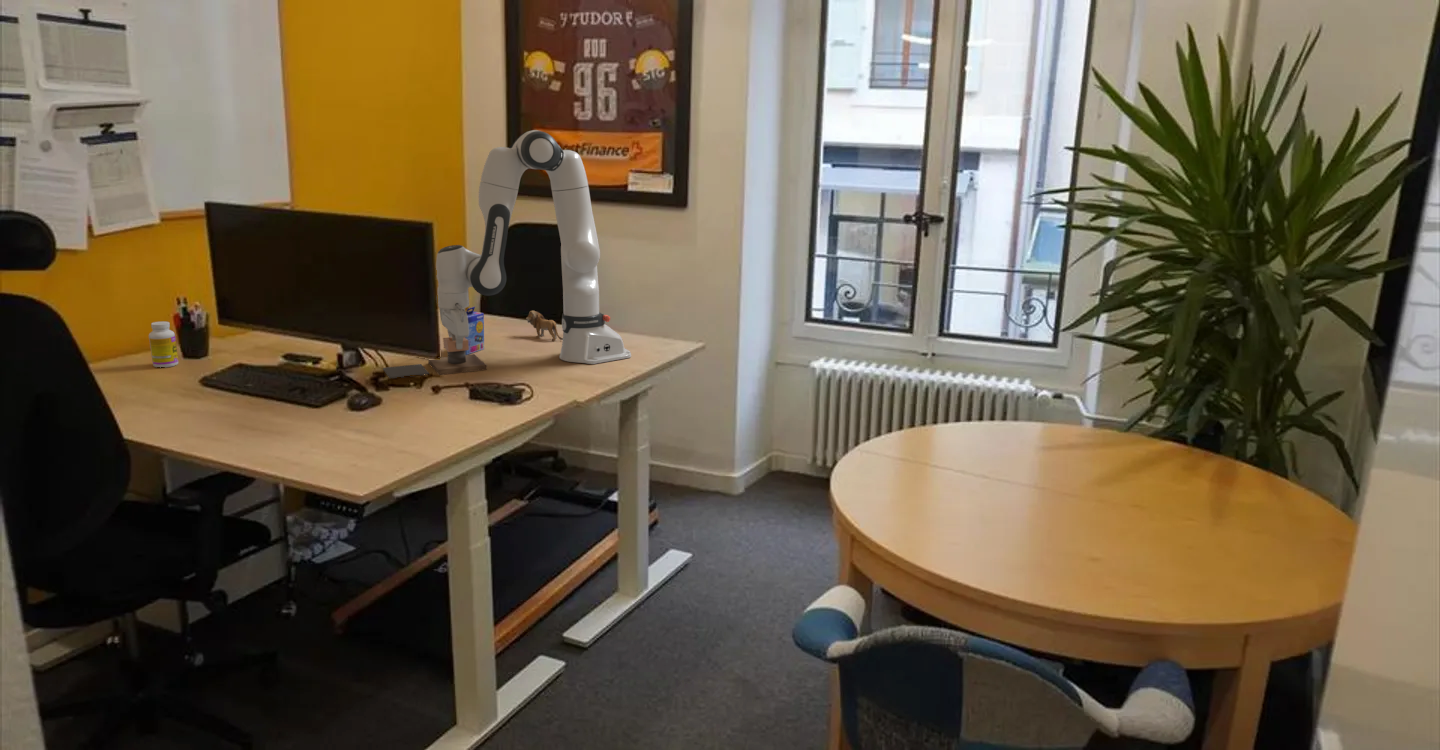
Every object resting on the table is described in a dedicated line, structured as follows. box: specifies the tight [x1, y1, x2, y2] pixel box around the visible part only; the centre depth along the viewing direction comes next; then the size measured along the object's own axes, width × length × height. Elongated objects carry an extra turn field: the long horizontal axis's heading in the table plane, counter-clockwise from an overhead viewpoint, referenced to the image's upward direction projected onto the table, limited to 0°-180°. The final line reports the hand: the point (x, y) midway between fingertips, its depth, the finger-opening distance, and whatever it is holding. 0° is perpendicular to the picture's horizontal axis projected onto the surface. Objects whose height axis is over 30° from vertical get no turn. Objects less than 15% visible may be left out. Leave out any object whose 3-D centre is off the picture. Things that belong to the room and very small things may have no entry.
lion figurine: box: [525, 310, 563, 342], centre depth 325 cm, size 15×5×9 cm, turn 60°
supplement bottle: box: [148, 320, 179, 369], centre depth 281 cm, size 7×7×13 cm
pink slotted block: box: [442, 336, 469, 352], centre depth 286 cm, size 6×6×3 cm
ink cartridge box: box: [465, 306, 485, 355], centre depth 304 cm, size 10×6×14 cm, turn 157°
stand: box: [427, 334, 487, 376], centre depth 287 cm, size 14×14×10 cm
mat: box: [382, 363, 430, 379], centre depth 281 cm, size 11×11×1 cm
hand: (456, 346), depth 287 cm, fingers closed on pink slotted block, 6 cm apart
